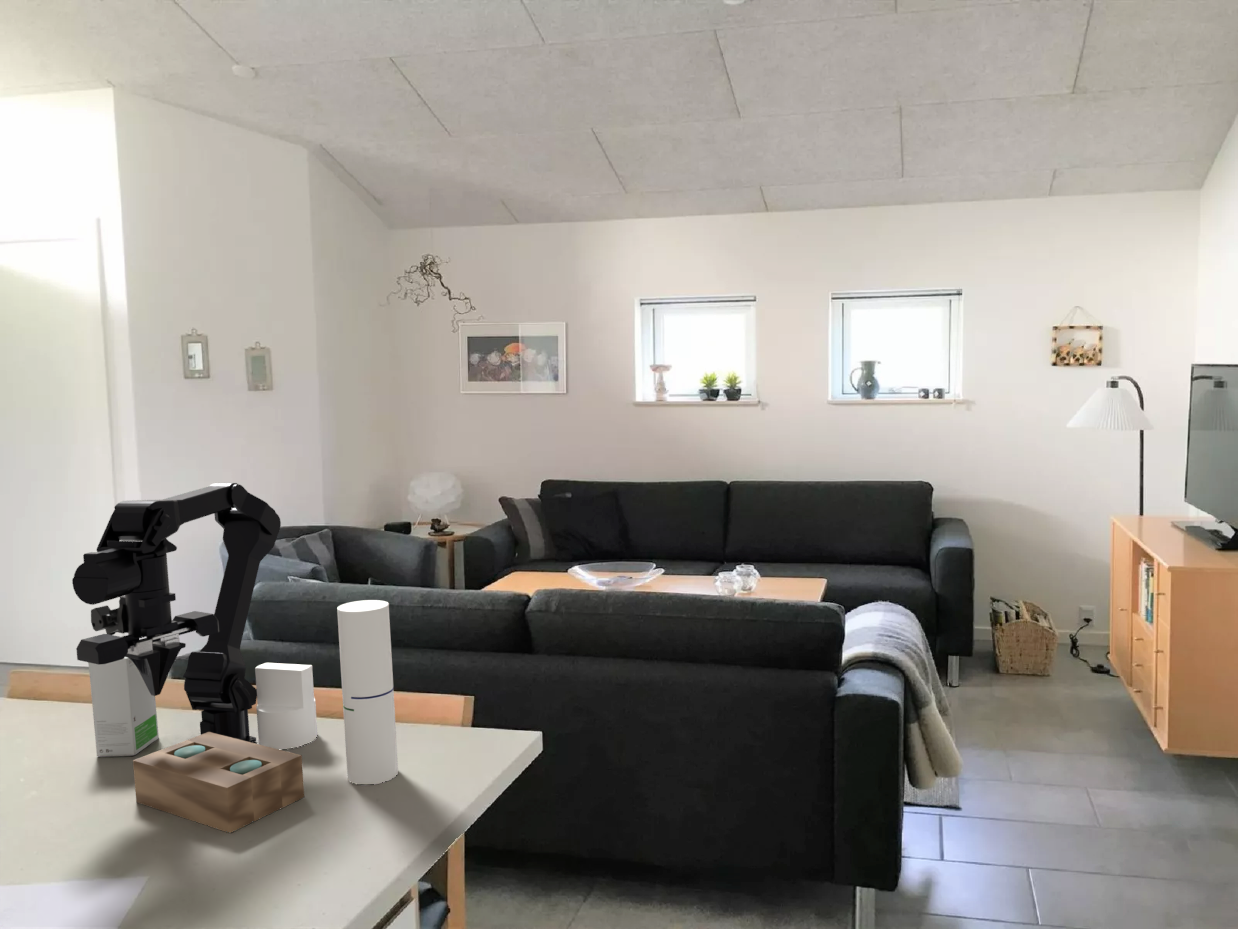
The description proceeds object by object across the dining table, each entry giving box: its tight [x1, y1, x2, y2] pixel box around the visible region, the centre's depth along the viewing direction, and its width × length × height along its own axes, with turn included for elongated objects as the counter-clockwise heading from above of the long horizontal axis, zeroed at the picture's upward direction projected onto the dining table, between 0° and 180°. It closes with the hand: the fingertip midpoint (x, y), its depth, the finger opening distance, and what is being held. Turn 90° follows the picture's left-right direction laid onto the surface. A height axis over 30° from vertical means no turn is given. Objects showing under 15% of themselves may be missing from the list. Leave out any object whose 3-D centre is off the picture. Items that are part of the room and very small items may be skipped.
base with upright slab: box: [254, 662, 319, 750], centre depth 159 cm, size 9×9×12 cm
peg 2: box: [230, 760, 262, 775], centre depth 133 cm, size 4×4×6 cm
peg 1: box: [174, 745, 205, 759], centre depth 140 cm, size 4×4×6 cm
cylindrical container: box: [336, 599, 399, 785], centre depth 142 cm, size 7×7×25 cm
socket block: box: [132, 732, 305, 834], centre depth 137 cm, size 12×20×6 cm, turn 59°
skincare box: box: [87, 657, 160, 758], centre depth 157 cm, size 8×7×16 cm
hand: (155, 694), depth 142 cm, fingers closed
